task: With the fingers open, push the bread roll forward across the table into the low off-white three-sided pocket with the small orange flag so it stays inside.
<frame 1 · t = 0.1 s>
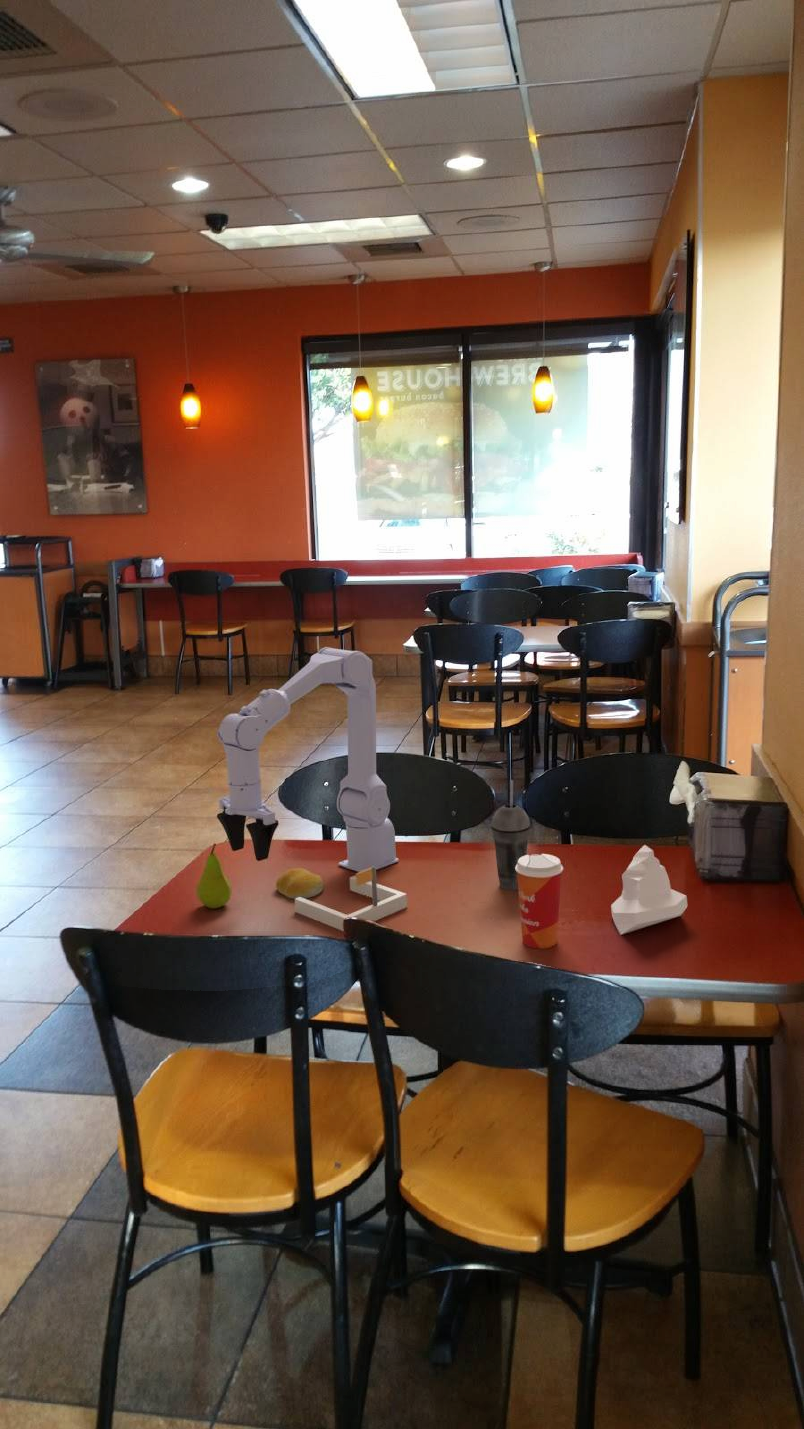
hand: (249, 854, 191), 10 cm above the table, tool pointing down, fingers open, 7 cm apart
pocket: (350, 909, 190), on the table
bread roll: (300, 892, 200), on the table
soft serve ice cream: (644, 925, 180), on the table
fruit: (215, 907, 194), on the table
paper cup: (539, 942, 174), on the table
beverage cup: (511, 886, 198), on the table
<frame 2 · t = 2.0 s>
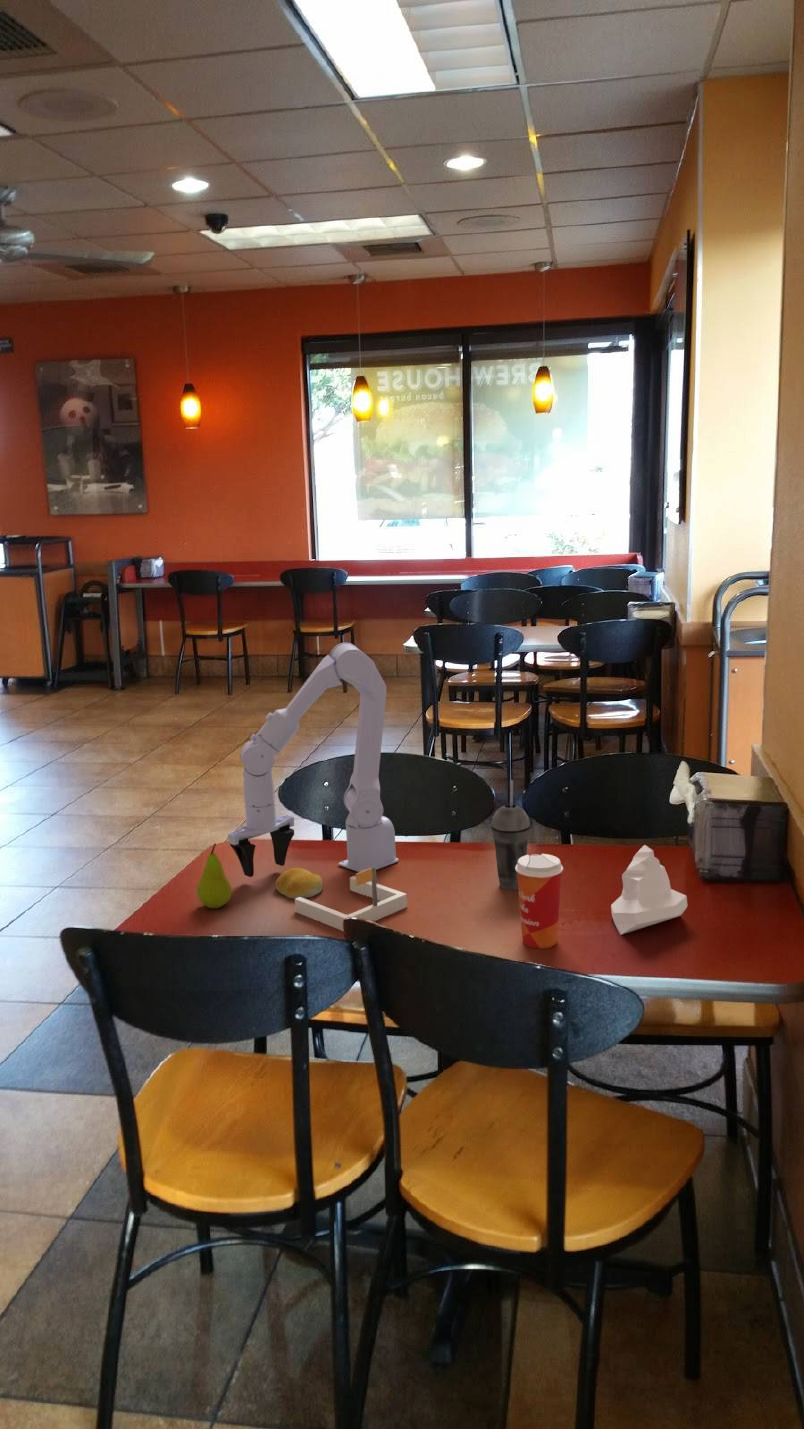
hand: (264, 869, 207), 1 cm above the table, tool pointing down, fingers open, 7 cm apart
nothing on the table moved.
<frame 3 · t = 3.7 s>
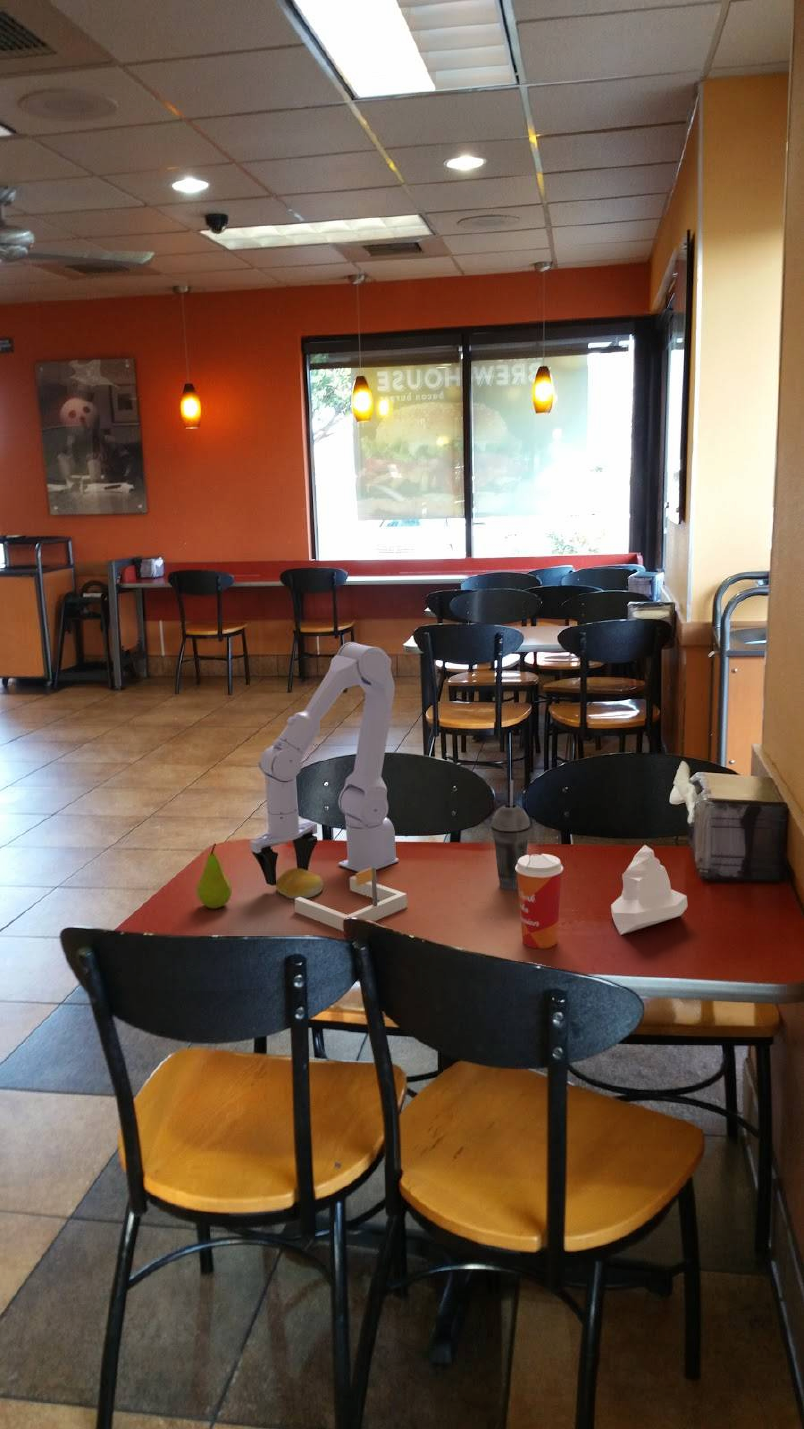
hand: (287, 878, 202), 1 cm above the table, tool pointing down, fingers open, 7 cm apart
bread roll: (299, 892, 200), on the table, touching gripper
everything else where it was.
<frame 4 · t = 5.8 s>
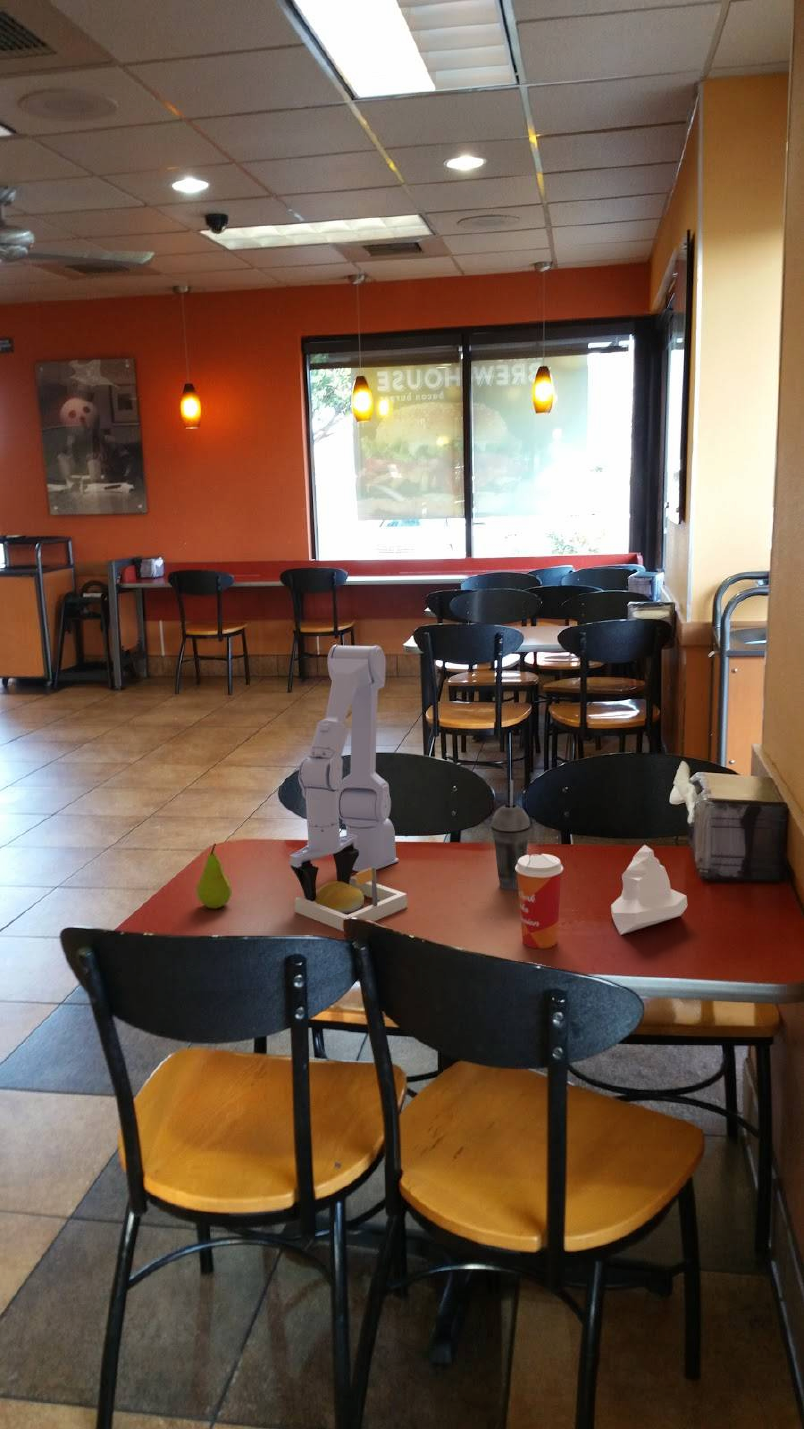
hand: (327, 893, 194), 1 cm above the table, tool pointing down
bread roll: (339, 906, 192), on the table, touching gripper
everything else where it was.
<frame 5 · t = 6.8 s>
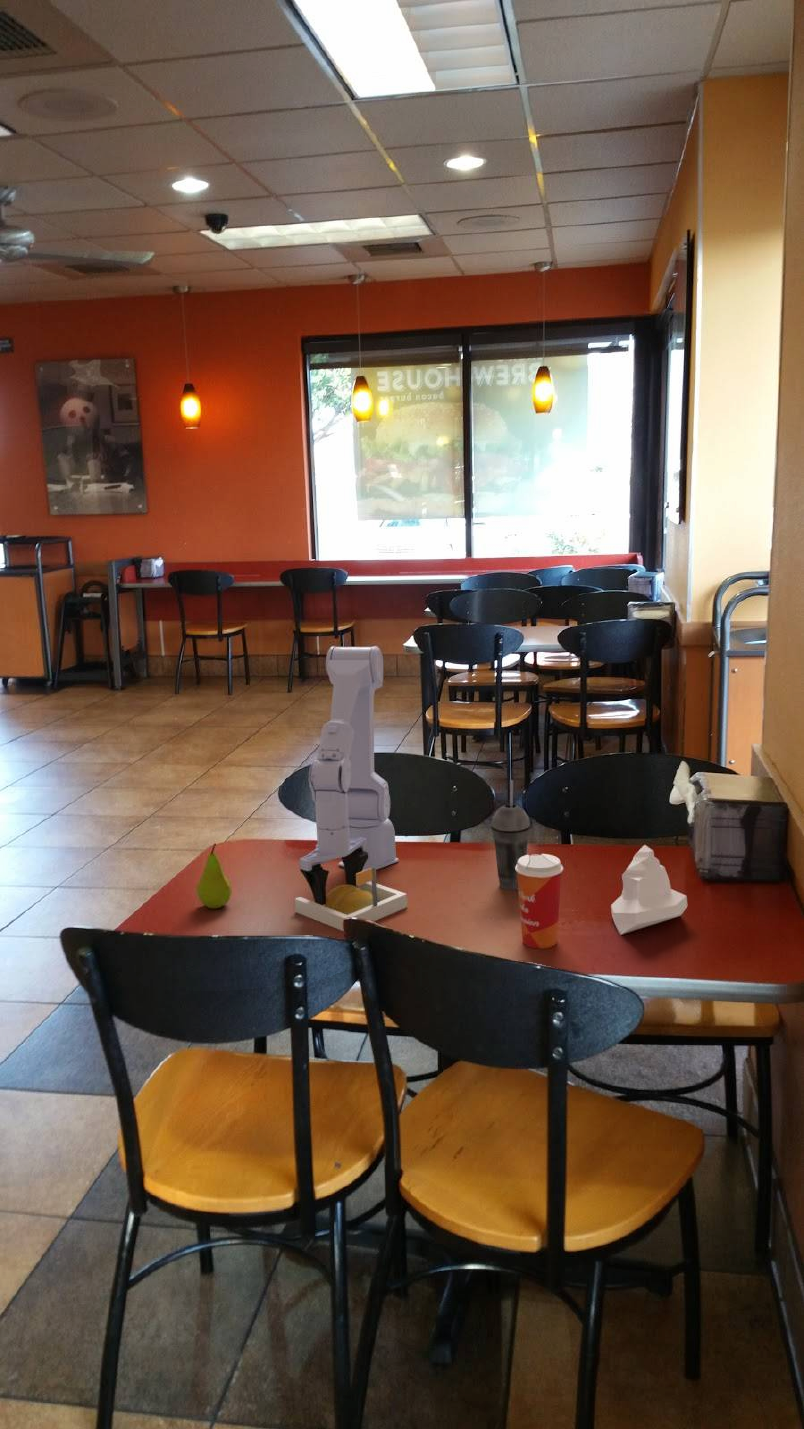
hand: (336, 896, 192), 1 cm above the table, tool pointing down
bread roll: (349, 909, 190), on the table, touching gripper
everything else where it was.
when the fingers open (1 cm above the table, at t = 7.7 s): bread roll stays where it is, on the table.
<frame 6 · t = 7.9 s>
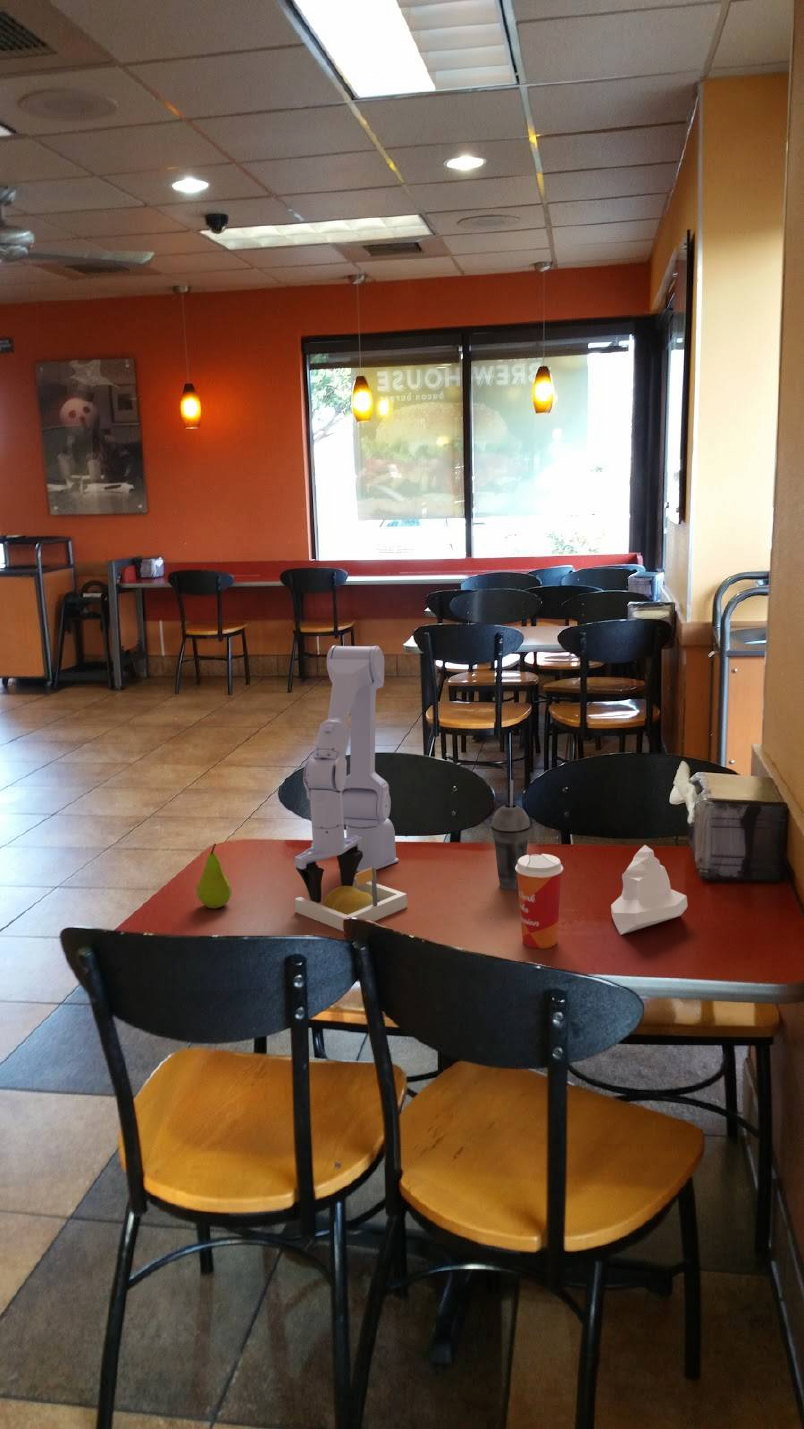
hand: (331, 894, 193), 1 cm above the table, tool pointing down, fingers open, 7 cm apart
bread roll: (349, 911, 190), on the table
everything else where it was.
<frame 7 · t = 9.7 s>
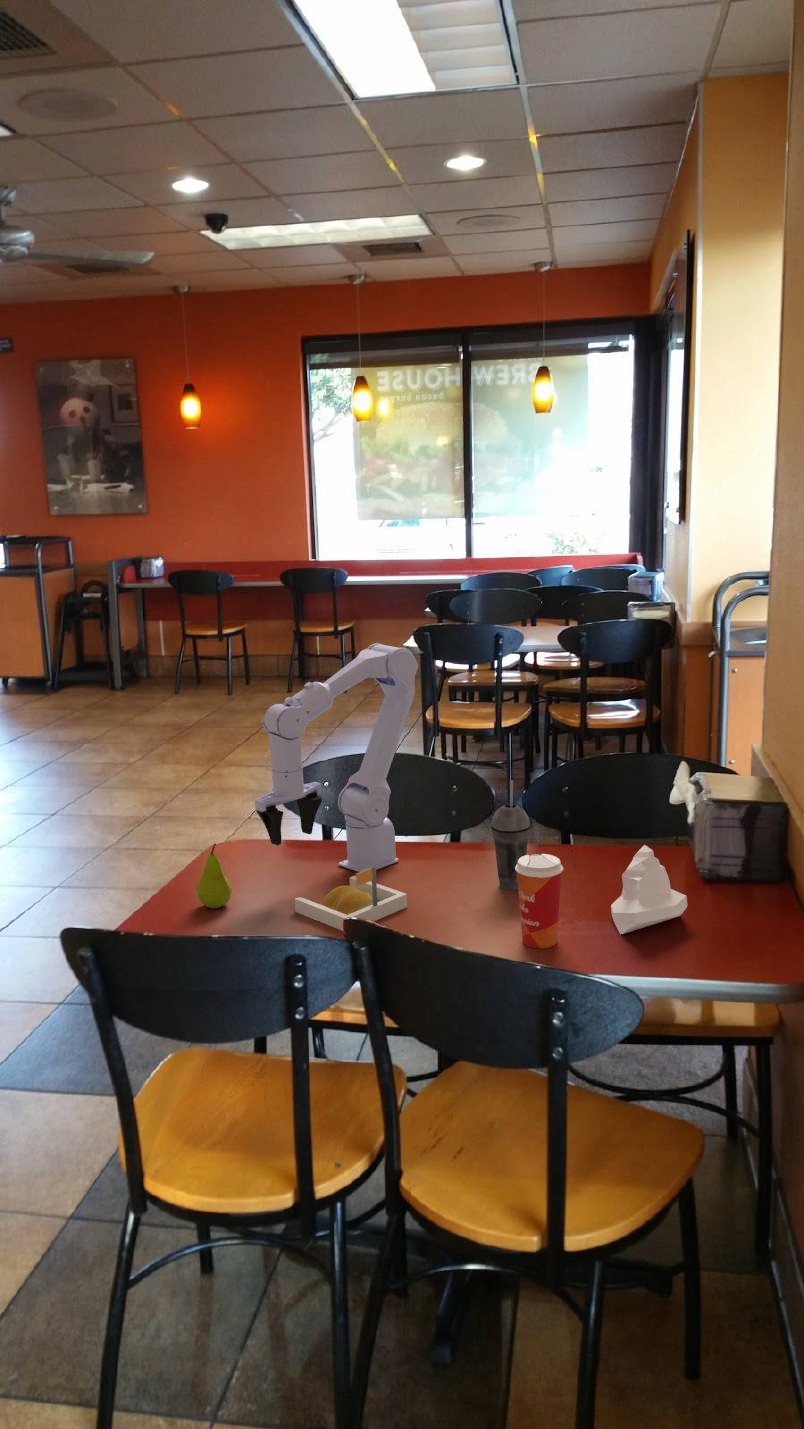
hand: (291, 838, 200), 9 cm above the table, tool pointing down, fingers open, 7 cm apart
nothing on the table moved.
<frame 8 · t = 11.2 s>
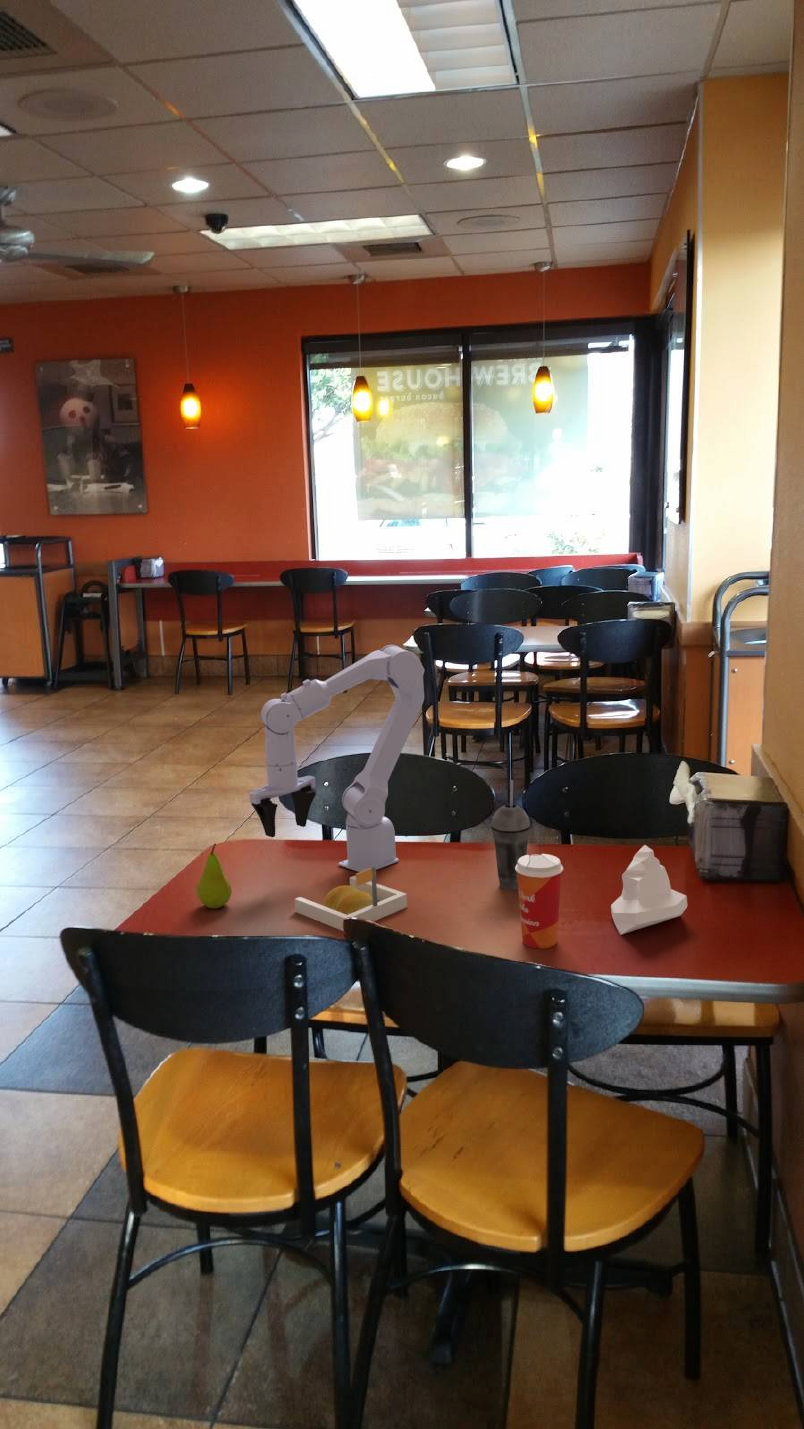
hand: (286, 830, 205), 9 cm above the table, tool pointing down, fingers open, 7 cm apart
nothing on the table moved.
at the end: bread roll 0.2 cm off-centre on the pocket, point -0.5 cm above the pocket's base; bread roll tilted 0° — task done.
